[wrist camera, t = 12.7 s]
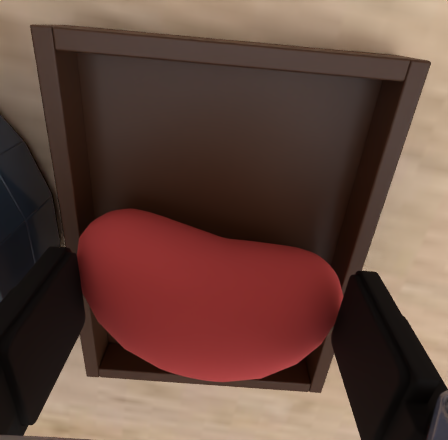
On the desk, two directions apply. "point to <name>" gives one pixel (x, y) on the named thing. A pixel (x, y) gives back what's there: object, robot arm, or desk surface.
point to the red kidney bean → (205, 296)
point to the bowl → (22, 211)
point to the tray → (223, 151)
